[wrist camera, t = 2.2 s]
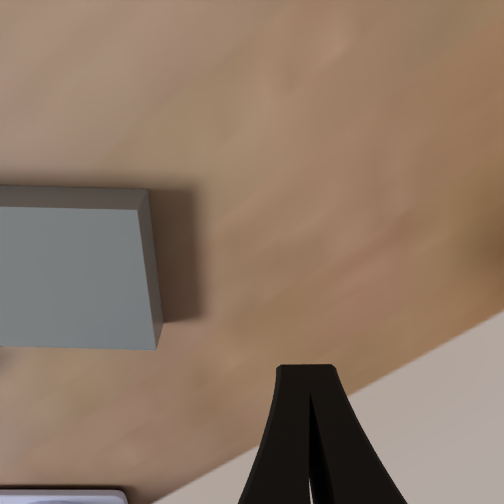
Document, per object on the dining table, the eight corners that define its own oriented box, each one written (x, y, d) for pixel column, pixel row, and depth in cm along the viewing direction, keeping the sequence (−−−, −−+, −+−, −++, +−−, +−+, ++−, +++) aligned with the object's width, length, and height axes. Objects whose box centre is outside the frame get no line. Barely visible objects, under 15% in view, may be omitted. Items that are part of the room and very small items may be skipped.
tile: (165, 315, 19) (155, 350, 17) (-73, 309, 19) (-105, 343, 18) (150, 182, 16) (137, 209, 14) (-137, 175, 16) (-184, 202, 14)
